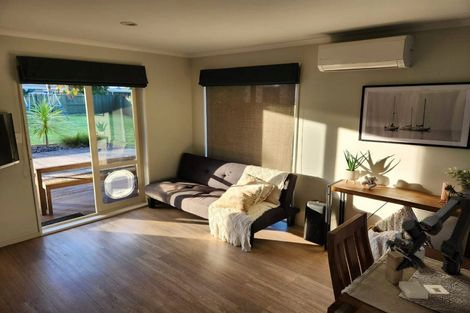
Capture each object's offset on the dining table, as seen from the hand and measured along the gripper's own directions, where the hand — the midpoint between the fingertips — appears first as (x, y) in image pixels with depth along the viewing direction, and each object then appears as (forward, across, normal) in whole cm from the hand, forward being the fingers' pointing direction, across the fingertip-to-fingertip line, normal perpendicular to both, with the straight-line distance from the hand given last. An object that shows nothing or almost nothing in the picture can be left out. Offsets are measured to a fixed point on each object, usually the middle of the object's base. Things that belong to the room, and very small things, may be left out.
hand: (392, 267), depth 137 cm
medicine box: (-11, -11, +21) cm, 26 cm away
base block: (+3, +10, +7) cm, 12 cm away
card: (-5, +10, +15) cm, 19 cm away
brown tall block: (+4, 0, +6) cm, 7 cm away
